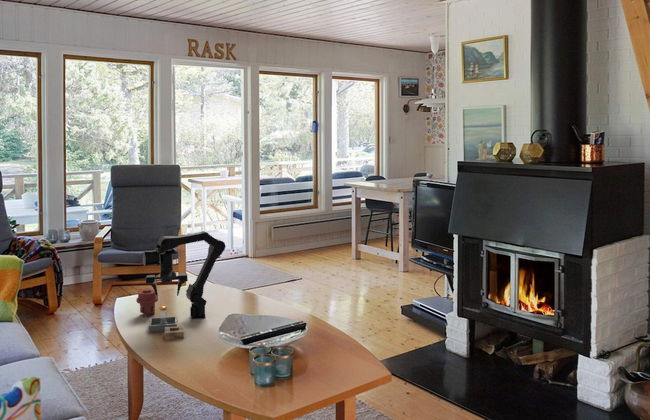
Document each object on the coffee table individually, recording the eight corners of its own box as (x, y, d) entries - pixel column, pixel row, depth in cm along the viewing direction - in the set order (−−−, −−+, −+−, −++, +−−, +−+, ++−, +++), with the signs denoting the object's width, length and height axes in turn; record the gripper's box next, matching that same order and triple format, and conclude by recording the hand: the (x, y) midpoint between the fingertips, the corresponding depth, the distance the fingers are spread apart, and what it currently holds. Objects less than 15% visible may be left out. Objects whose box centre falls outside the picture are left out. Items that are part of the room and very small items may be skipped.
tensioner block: (183, 332, 264) (183, 325, 263) (183, 338, 256) (183, 331, 256) (165, 333, 262) (165, 327, 261) (164, 339, 254) (164, 333, 254)
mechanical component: (162, 312, 294) (152, 318, 284) (143, 310, 295) (133, 316, 286) (161, 287, 292) (151, 293, 282) (142, 286, 294) (132, 291, 284)
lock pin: (167, 324, 272) (167, 305, 271) (167, 326, 269) (166, 307, 268) (160, 325, 271) (159, 306, 270) (159, 327, 268) (159, 308, 267)
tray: (177, 322, 277) (176, 316, 277) (176, 330, 266) (176, 324, 266) (150, 324, 275) (150, 318, 274) (149, 332, 263) (148, 326, 263)
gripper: (144, 268, 266) (145, 302, 268) (187, 266, 270) (188, 299, 272) (145, 263, 277) (147, 295, 279) (186, 261, 281) (187, 293, 283)
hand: (167, 296), depth 278 cm, fingers open, 9 cm apart
